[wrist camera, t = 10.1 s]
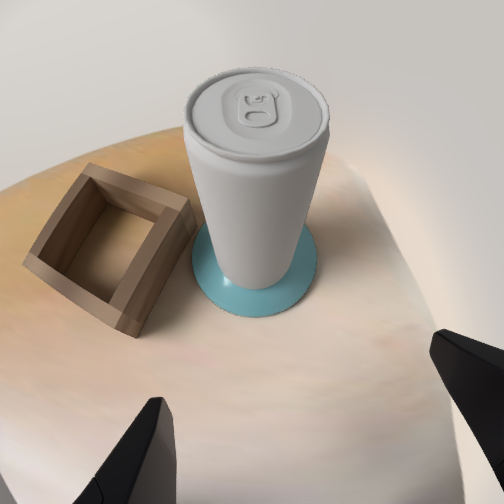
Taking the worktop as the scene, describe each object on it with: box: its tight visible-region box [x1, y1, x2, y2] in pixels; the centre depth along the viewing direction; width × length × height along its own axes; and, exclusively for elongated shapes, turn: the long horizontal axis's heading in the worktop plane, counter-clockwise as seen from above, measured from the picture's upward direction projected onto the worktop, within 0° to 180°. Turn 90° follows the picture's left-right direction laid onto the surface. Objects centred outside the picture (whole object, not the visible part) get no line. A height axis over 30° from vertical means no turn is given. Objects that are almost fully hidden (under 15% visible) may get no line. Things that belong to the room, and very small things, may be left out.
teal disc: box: [192, 222, 317, 318], centre depth 20 cm, size 8×8×1 cm
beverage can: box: [184, 67, 330, 290], centre depth 14 cm, size 5×5×12 cm
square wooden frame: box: [22, 162, 197, 338], centre depth 19 cm, size 9×9×4 cm
